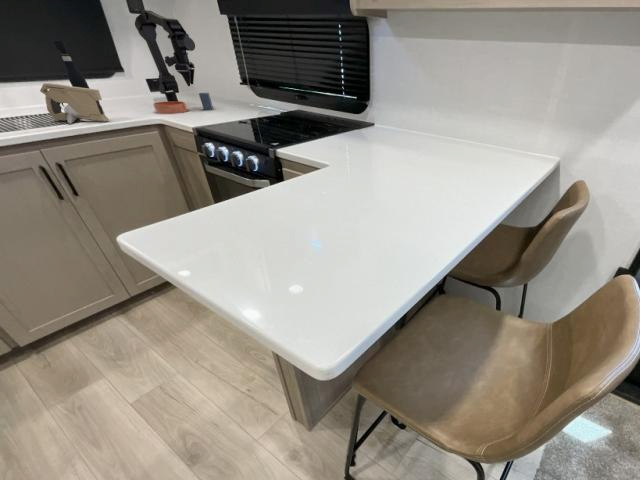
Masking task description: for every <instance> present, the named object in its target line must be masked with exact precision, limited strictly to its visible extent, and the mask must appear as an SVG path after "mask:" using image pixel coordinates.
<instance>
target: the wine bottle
mask: <svg viewBox="0 0 640 480" xmlns="http://www.w3.org/2000/svg"><path fill="white" fill-rule="evenodd" d="M52 42H53V45H54V46H55V48H56V50H59V53H60V55H61V58H62V60H63V61H62V63H63V64H64V66H65V68H66V74H67V77H68V81H69V82H70V86H73V87H80V88H88V89H91V88H90V87H89V84H88V82H87V80H86V78H85V77H84V75H83V74H82V73H81V72H80V71H79V69H78V68H77V66H76V64H75V63H74V61H73V60H72V57H71V56H70V55H69V53H68V51H67V50H68V48H67V45H66V44H65V41H64V40H52Z"/></svg>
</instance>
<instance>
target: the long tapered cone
mask: <svg viewBox="0 0 640 480" xmlns="http://www.w3.org/2000/svg"><path fill="white" fill-rule="evenodd" d="M63 111H64V113H69V114H67V115H66V118H67V119H66V121H67V123H68V124H70V125H71V124H73V123H75V122H76V121H77V120H79V119H78V118H75V117H74V116H73V115H79V114H78V113H77V112H76V111H75V110H74V109H72V108H71V107H70V106H69V105H68V104H67V105H65V106H64V108H63Z"/></svg>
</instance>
